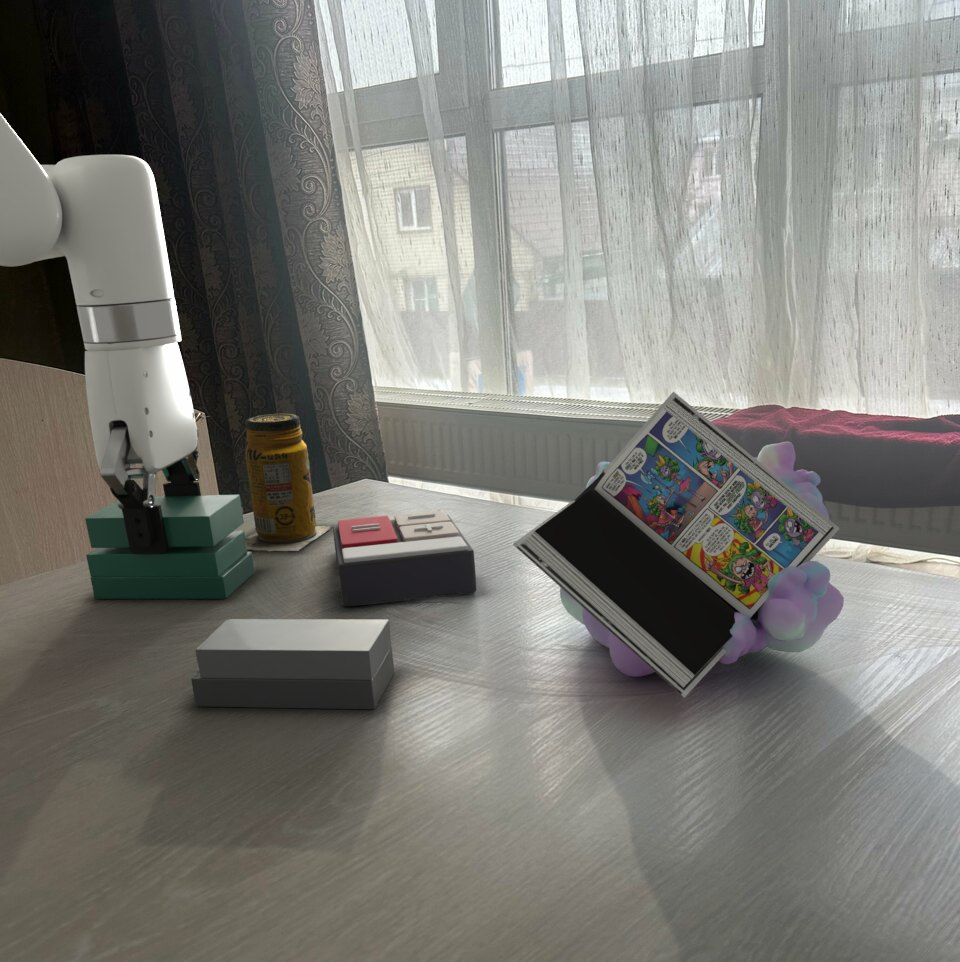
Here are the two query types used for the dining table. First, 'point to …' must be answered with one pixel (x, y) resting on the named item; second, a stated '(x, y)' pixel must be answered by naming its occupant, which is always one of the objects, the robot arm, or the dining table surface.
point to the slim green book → (173, 521)
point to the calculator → (402, 558)
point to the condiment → (280, 484)
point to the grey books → (295, 664)
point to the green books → (172, 571)
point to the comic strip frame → (691, 551)
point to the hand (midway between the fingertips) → (169, 537)
